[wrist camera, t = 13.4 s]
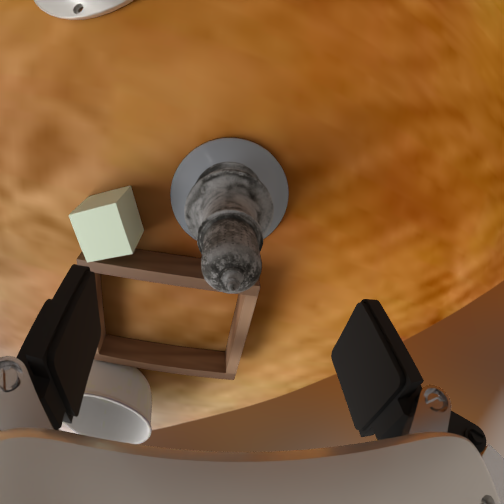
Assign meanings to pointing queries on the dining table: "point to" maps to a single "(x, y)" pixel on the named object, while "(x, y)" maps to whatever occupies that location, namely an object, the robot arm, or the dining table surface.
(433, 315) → the dining table surface
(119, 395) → the teacup
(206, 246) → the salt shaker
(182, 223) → the slate coaster
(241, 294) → the walnut corral
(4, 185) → the dining table surface
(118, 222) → the sage block
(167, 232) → the dining table surface
